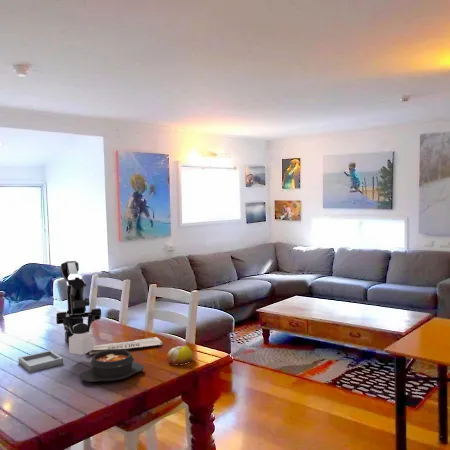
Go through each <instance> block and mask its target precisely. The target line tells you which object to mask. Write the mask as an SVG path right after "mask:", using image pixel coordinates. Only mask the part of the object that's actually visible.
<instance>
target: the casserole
mask: <svg viewBox="0 0 450 450" xmlns="http://www.w3.org/2000/svg"><path fill="white" fill-rule="evenodd" d="M89 364H90V366H91V368H90V369H88V370H85V371H83V372H81V373H80V375H79V378H80V379H81V380H82V381H85V382H88V383H95V382H114V381H120V380H123V379H126V378H129V377H131V376H132V375H134V374H137V373H140V372H142V371H143V370H144V365H143V364H141V363H139V362H137V361H135V357H134V356H133V355H132V352H130V351H129V350H108V351H103V352H99V353H97V354H95V355H92V359H91V360H90V362H89Z"/></svg>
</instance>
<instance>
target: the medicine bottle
mask: <svg viewBox="0 0 450 450" xmlns="http://www.w3.org/2000/svg"><path fill="white" fill-rule="evenodd" d="M73 332H74V334H73V336H71V337H69V342H68V352H69V354H73V355H81V356H84V355H86V354H87V353H89V351H91V350H93V345H94V344H93V334H92V333H88V323H87V324H86V323H84V322H83V323H80V324H76V325H74V326H73Z"/></svg>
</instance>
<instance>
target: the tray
mask: <svg viewBox="0 0 450 450" xmlns="http://www.w3.org/2000/svg"><path fill="white" fill-rule="evenodd" d="M17 361H18V364H19V365H20V366H21V367H23V368H24V369H25V370H27V372H29V373H33V372H36V371H40V370H44V369H48V368H52V367H56V366H60V365H64V357H62V356H61V355H59V354H58V353H56V352H54V351H52V350H51V349H49V350H46V351H42V352H37V353H32V354H29V355H25V356H20V357H18V360H17Z"/></svg>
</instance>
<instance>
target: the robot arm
mask: <svg viewBox="0 0 450 450" xmlns="http://www.w3.org/2000/svg"><path fill="white" fill-rule="evenodd" d="M79 269H80V268H79V262H78V261H77V260H74V259H73V260H72V259H71V260H66V261H64V262H63V263H61V264H60V273H61V274H62V278H63V280H65V285H66V287H65V288H66V297H67V298H66V299H67V310H66V311H60V312H59V311H58V312H56V314H55V315H56V316H55V320H56V321H55V322H56V324H57V325H60V324H61V325H62V324H63V329H64V341H66V342H68V343H69V337H71V336H73V334H74V332H73V326H74V325H76V324H80V323H84V318H87V325H88V333H87V334H90V329H91V325H92V324H93V322H95V321H97V320H98V321H99V320H101V316H102V310H101V308H100V307H97V308H91V310H90V311H89V312H86V310H87V307H89V306H90V298H89V297H87V298H84V293H85V288H86V287H87V283H86V282H85V280H84V279H83V277H82V275H80V274H79V273H78V272H79Z"/></svg>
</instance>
